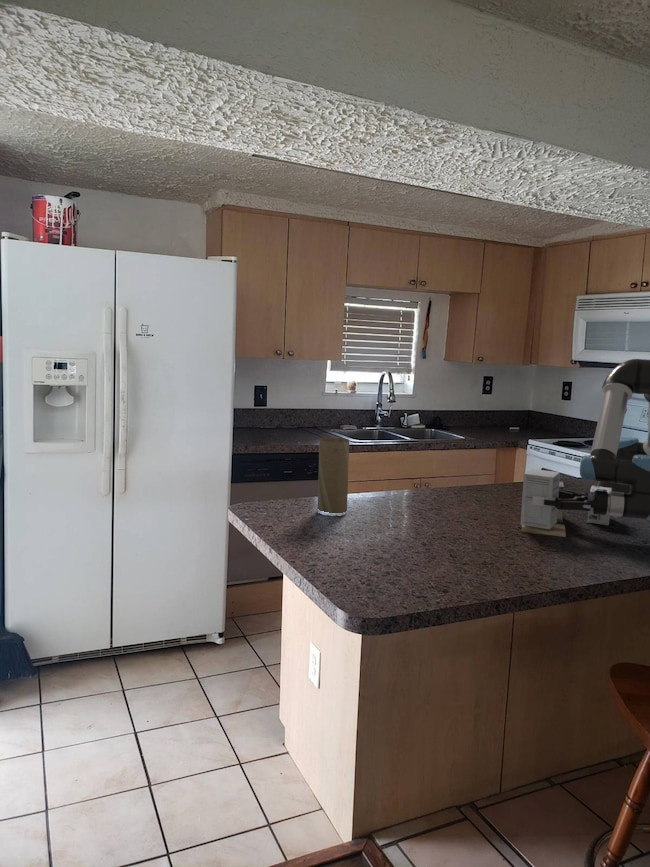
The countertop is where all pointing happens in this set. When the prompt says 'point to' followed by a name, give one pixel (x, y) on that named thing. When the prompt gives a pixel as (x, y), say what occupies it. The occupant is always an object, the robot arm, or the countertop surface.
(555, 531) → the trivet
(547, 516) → the supplement box
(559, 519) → the unit
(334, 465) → the tube
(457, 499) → the countertop surface
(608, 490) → the light bulb box
